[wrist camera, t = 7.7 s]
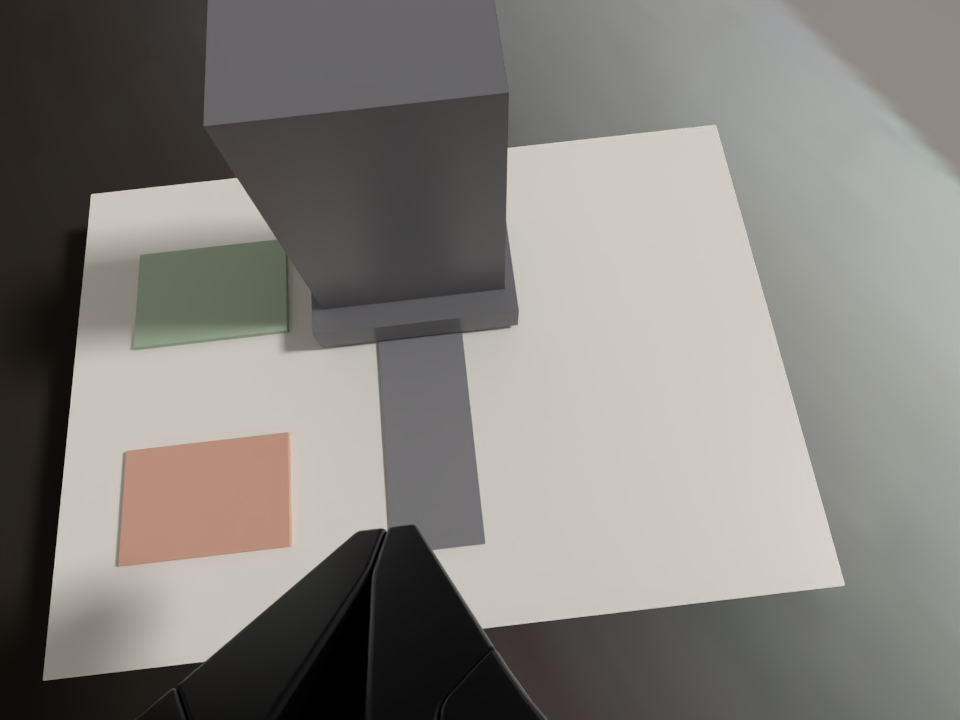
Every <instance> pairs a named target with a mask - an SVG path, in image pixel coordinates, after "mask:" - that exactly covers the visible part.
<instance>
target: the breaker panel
mask: <svg viewBox="0 0 960 720" xmlns="http://www.w3.org/2000/svg"><path fill="white" fill-rule="evenodd" d="M506 224H507V231H508V238H509V245H510V253H511V260H512V267H513V274H514V281H515V288H516V295H517V302H518V309H519V316H518V325H514V326H506V327H497V328H488V329H479V330H470V331H462V332H453V333H444V334H435V335H427V336H418V337H409V338H400V339H391V340H383V341H374V342H365V343H356V344H348V345H339V346H330V347H321V345H320V344H319V343H318V341H317V340H316V339H315V337H314V336H313V335H312V302H311V291H310V289H309V288H308V286H307V285H306V283H305V282H304V280H303V279H302V277H301V275H300V274H299V272H298V271H297V269H296V268H295V266H294V265H293V263H292V262H291V260H290V259H289V257H288V255H287V254H286V252H285V251H284V249H283V248H282V246H281V245H280V243H279V242H278V240H277V239H276V237H275V235H274V234H273V232H272V231H271V229H270V228H269V226H268V225H267V223H266V222H265V220H264V219H263V217H262V215H261V214H260V212H259V211H258V209H257V208H256V206H255V205H254V203H253V202H252V200H251V199H250V197H249V195H248V194H247V192H246V191H245V189H244V188H243V186H242V185H241V183H240V182H239V180H238V178H233V179H224V180H215V181H206V182H197V183H188V184H179V185H170V186H161V187H152V188H143V189H134V190H125V191H116V192H107V193H98V194H91V202H90V212H89V222H88V232H87V242H86V252H85V262H84V272H83V282H82V292H81V302H80V312H79V322H78V332H77V342H76V352H75V362H74V372H73V383H72V393H71V403H70V413H69V423H68V433H67V443H66V453H65V463H64V473H63V483H62V493H61V503H60V513H59V523H58V533H57V543H56V553H55V563H54V573H53V583H52V593H51V603H50V613H49V623H48V633H47V643H46V653H45V663H44V673H43V681H46V680H54V679H62V678H71V677H79V676H88V675H96V674H104V673H113V672H121V671H130V670H138V669H147V668H155V667H163V666H172V665H180V664H189V663H197V662H205V661H206V660H207V659H209V658H210V657H211V656H212V655H213V654H214V653H216V652H217V651H218V650H219V649H220V648H221V647H223V646H224V645H225V644H226V643H227V642H228V641H230V640H231V639H232V638H233V637H234V636H235V635H237V634H238V633H239V632H240V631H241V630H242V629H244V628H245V627H246V626H247V625H248V624H249V623H251V622H252V621H253V620H254V619H255V618H256V617H258V616H259V615H260V614H261V613H262V612H263V611H265V610H266V609H267V608H268V607H269V606H270V605H272V604H273V603H274V602H275V601H276V600H277V599H279V598H280V597H281V596H282V595H283V594H284V593H286V592H287V591H288V590H289V589H290V588H292V587H293V586H294V585H295V584H296V583H297V582H299V581H300V580H301V579H302V578H303V577H304V576H306V575H307V574H308V573H309V572H310V571H311V570H313V569H314V568H315V567H316V566H317V565H318V564H320V563H321V562H322V561H323V560H324V559H325V558H327V557H328V556H329V555H330V554H331V553H332V552H334V551H335V550H336V549H337V548H338V547H339V546H341V545H342V544H343V543H344V542H345V541H346V540H348V539H349V538H350V537H351V536H352V535H353V534H355V533H356V532H358V531H360V530H369V529H378V528H383V529H385V530H386V531H387V530H388V529H389V528H390V527H395V526H403V525H411V524H414V525H416V526H417V527H418V528H419V530H420V532H421V533H422V535H423V536H424V538H425V539H426V541H427V543H428V544H429V546H430V547H431V549H432V550H433V552H434V553H435V555H436V557H437V558H438V560H439V561H440V563H441V564H442V566H443V568H444V569H445V571H446V572H447V574H448V575H449V577H450V579H451V580H452V582H453V583H454V585H455V586H456V588H457V589H458V591H459V593H460V594H461V596H462V597H463V599H464V600H465V602H466V604H467V605H468V607H469V608H470V610H471V611H472V613H473V615H474V616H475V618H476V619H477V621H478V622H479V624H480V625H481V627H482V629H483V628H492V627H500V626H509V625H517V624H526V623H534V622H542V621H551V620H559V619H568V618H576V617H585V616H593V615H601V614H610V613H618V612H627V611H635V610H643V609H652V608H660V607H669V606H677V605H686V604H694V603H702V602H711V601H719V600H728V599H736V598H745V597H753V596H761V595H770V594H778V593H787V592H795V591H804V590H812V589H820V588H829V587H837V586H845V583H844V580H843V576H842V572H841V569H840V565H839V562H838V558H837V555H836V551H835V547H834V544H833V540H832V537H831V533H830V530H829V526H828V522H827V519H826V515H825V512H824V508H823V505H822V501H821V498H820V494H819V490H818V487H817V483H816V480H815V476H814V473H813V469H812V465H811V462H810V458H809V455H808V451H807V448H806V444H805V440H804V437H803V433H802V430H801V426H800V423H799V419H798V415H797V412H796V408H795V405H794V401H793V398H792V394H791V391H790V387H789V383H788V380H787V376H786V373H785V369H784V366H783V362H782V358H781V355H780V351H779V348H778V344H777V341H776V337H775V333H774V330H773V326H772V323H771V319H770V316H769V312H768V308H767V305H766V301H765V298H764V294H763V291H762V287H761V283H760V280H759V276H758V273H757V269H756V266H755V262H754V259H753V255H752V251H751V248H750V244H749V241H748V237H747V234H746V230H745V226H744V223H743V219H742V216H741V212H740V209H739V205H738V201H737V198H736V194H735V191H734V187H733V184H732V180H731V176H730V173H729V169H728V166H727V162H726V159H725V155H724V152H723V148H722V144H721V141H720V137H719V134H718V130H717V127H716V125H710V126H701V127H692V128H683V129H674V130H665V131H656V132H647V133H638V134H629V135H620V136H611V137H602V138H593V139H584V140H575V141H566V142H557V143H548V144H539V145H530V146H521V147H512V148H508V150H507V199H506Z"/></svg>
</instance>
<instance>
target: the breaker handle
mask: <svg viewBox="0 0 960 720" xmlns="http://www.w3.org/2000/svg"><path fill="white" fill-rule="evenodd" d="M508 101H509V91H508V85H507V79H506V72H505V66H504V59H503V53H502V47H501V40H500V34H499V27H498V21H497V14H496V8H495V2H494V0H208V14H207V43H206V71H205V100H204V128H205V129H206V131H207V132H208V134H209V135H210V137H211V138H212V140H213V142H214V143H215V145H216V146H217V148H218V149H219V151H220V152H221V154H222V155H223V157H224V158H225V160H226V162H227V163H228V165H229V166H230V168H231V169H232V171H233V172H234V174H235V175H236V177H237V178H238V180H239V182H240V183H241V185H242V186H243V188H244V189H245V191H246V192H247V194H248V195H249V197H250V199H251V200H252V202H253V203H254V205H255V206H256V208H257V209H258V211H259V212H260V214H261V215H262V217H263V219H264V220H265V222H266V223H267V225H268V226H269V228H270V229H271V231H272V232H273V234H274V235H275V237H276V239H277V240H278V242H279V243H280V245H281V246H282V248H283V249H284V251H285V252H286V254H287V255H288V257H289V259H290V260H291V262H292V263H293V265H294V266H295V268H296V269H297V271H298V272H299V274H300V275H301V277H302V279H303V280H304V282H305V283H306V285H307V286H308V288H309V289H310V291H311V302H312V335H313V336H314V337H315V339H316V340H317V341H318V343H319V344H320V345H321V347H330V346H339V345H348V344H356V343H365V342H374V341H383V340H391V339H400V338H409V337H418V336H427V335H435V334H444V333H453V332H462V331H470V330H479V329H488V328H497V327H506V326H514V325H518V316H519V309H518V302H517V295H516V288H515V281H514V274H513V267H512V260H511V253H510V245H509V238H508V231H507V224H506V199H507V150H508Z"/></svg>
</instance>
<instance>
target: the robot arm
mask: <svg viewBox="0 0 960 720" xmlns="http://www.w3.org/2000/svg"><path fill="white" fill-rule="evenodd" d="M177 690H178V691H177ZM135 720H548V719H547V718H546V717H545V716H544V715H543V713H542V712H541V711H540V710H539V709H538V707H537V706H536V705H535V704H534V703H533V701H532V700H531V699H530V698H529V696H528V695H527V693H526V692H525V691H524V689H523V688H522V686H521V685H520V684H519V682H518V681H517V679H516V678H515V677H514V675H513V674H512V672H511V671H510V669H509V668H508V666H507V665H506V663H505V662H504V660H503V659H502V657H501V655H500V654H499V652H498V651H496V650H495V647H494V646H493V644H492V643H491V641H490V640H489V638H488V636H487V635H486V633H485V632H484V630H483V629H482V627H481V625H480V624H479V622H478V621H477V619H476V618H475V616H474V615H473V613H472V611H471V610H470V608H469V607H468V605H467V604H466V602H465V600H464V599H463V597H462V596H461V594H460V593H459V591H458V589H457V588H456V586H455V585H454V583H453V582H452V580H451V579H450V577H449V575H448V574H447V572H446V571H445V569H444V568H443V566H442V564H441V563H440V561H439V560H438V558H437V557H436V555H435V553H434V552H433V550H432V549H431V547H430V546H429V544H428V543H427V541H426V539H425V538H424V536H423V535H422V533H421V532H420V530H419V528H418V527H417V526H416V525H414V524H411V525H403V526H395V527H390V528H389V529H388V530H387V531H386V530H385V529H383V528H378V529H369V530H360V531H358V532H356V533H355V534H353V535H352V536H351V537H350V538H349V539H348V540H346V541H345V542H344V543H343V544H342V545H341V546H339V547H338V548H337V549H336V550H335V551H334V552H332V553H331V554H330V555H329V556H328V557H327V558H325V559H324V560H323V561H322V562H321V563H320V564H318V565H317V566H316V567H315V568H314V569H313V570H311V571H310V572H309V573H308V574H307V575H306V576H304V577H303V578H302V579H301V580H300V581H299V582H297V583H296V584H295V585H294V586H293V587H292V588H290V589H289V590H288V591H287V592H286V593H284V594H283V595H282V596H281V597H280V598H279V599H277V600H276V601H275V602H274V603H273V604H272V605H270V606H269V607H268V608H267V609H266V610H265V611H263V612H262V613H261V614H260V615H259V616H258V617H256V618H255V619H254V620H253V621H252V622H251V623H249V624H248V625H247V626H246V627H245V628H244V629H242V630H241V631H240V632H239V633H238V634H237V635H235V636H234V637H233V638H232V639H231V640H230V641H228V642H227V643H226V644H225V645H224V646H223V647H221V648H220V649H219V650H218V651H217V652H216V653H214V654H213V655H212V656H211V657H210V658H209V659H207V660H206V661H205V662H204V663H203V664H202V665H200V666H199V667H198V668H197V669H196V670H195V671H193V672H192V673H191V674H190V675H189V676H188V677H186V678H185V679H184V680H183V681H182V682H181V683H179V684H178V686H177V689H171V690H170V691H168V692H167V693H166V694H165V695H164V696H162V697H161V698H160V699H159V700H158V701H157V702H155V703H154V704H153V705H152V706H151V707H150V708H148V709H147V710H146V711H145V712H144V713H143V714H141V715H140V716H139V717H138V718H136V719H135Z"/></svg>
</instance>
